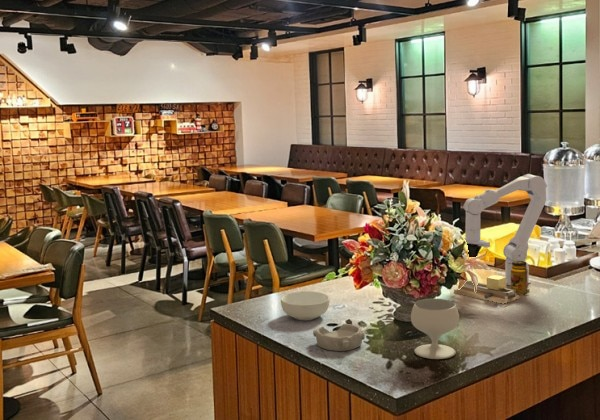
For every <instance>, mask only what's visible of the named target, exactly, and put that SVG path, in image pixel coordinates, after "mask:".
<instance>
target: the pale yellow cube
mask: <svg viewBox="0 0 600 420" xmlns="http://www.w3.org/2000/svg"><path fill="white" fill-rule="evenodd" d="M486 284H487V288H490V289H494V290H498V291H503V289H504V288H507V285H506V277H505V276H502V275H496V274H493V275H490V276H487V277H486Z"/></svg>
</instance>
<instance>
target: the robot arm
mask: <svg viewBox="0 0 600 420" xmlns="http://www.w3.org/2000/svg"><path fill="white" fill-rule="evenodd" d="M547 186H548V184H547V183H546V182H545V179H544V178H543V177H542V176H540V175H539V176H538V175H534V174H531V173H527V174H524V175H522V176H519V177H517V178H515V179H514V180H512V181H510V182H508V183H507V184H504V185H503V186H501V187H499V188H497V189H496V190H495V189H492V188H491V189H489V188H487V189H485V191H484V192H483V193H480V194H479V195H477V194H476V195H474V196H473V197H474V198H472V197H469V198H467V199H466V200H465V202H464V204H463V206H462V208H463V209H464V211H465V227H464V228H465V237H463V238H464V239H465V240H466V242H467V245H468V250H469V252H468V254H469V257H476V256H477V257H478V256H479V255H478V254H479V253H480V251H481V249H482V248H490V247H491V242H490V241H486V240H483V239H481V213H482V212H483V210H485V209H486V208H490V207H491V206H493V205H495V204H497V203H499V201H500V198H502V197H505V196H506V195H507V196H508V195H509V194H512V193H514V192H516V191H525V192H526V193H527V195H528V197H529V199H530V201H529V203H528V206H527V208H526V210H525V213H524V215H523V217H522V218H521V219H522V220H521V221H520V224H519V226H518V228H517V230H516V232H515V234H514V236H513V237H512V238H511V239H510V240H509V242H508V243H507V244H506V245H505V246H504V247H503V255H504V257H505V261H504V262H505V263H504V264H505V268H504V269H505V273H504V274H505V275H504V277H506V286H511V269H512V262H513V261H524V262H526V263H527V264H526V266H527V267H526V268H527V285H528V284H531V283H532V282H531V281H530V274H529V273H530V266H529V264H528V262H527V261H526V260H527V258H528V249H529V240H530V238H531V235H532V232H533V230H534V229H535V226H536V224H537V222H538V219H539V217H540V215H541V214H542V210H543V208H544V206H545V205H546V202H547ZM468 254H467V255H468Z"/></svg>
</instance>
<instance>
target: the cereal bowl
mask: <svg viewBox="0 0 600 420" xmlns="http://www.w3.org/2000/svg"><path fill="white" fill-rule="evenodd" d="M280 305H281V308H282V309H281V310H282V311H283V312H284V313H285V314H286V315H288V316H290V317H291V318H293V319H295V320H298V321H311V320H314V319H315V320H316V318H318V317H320V316H322V315H325V313H326V312H327V311H328V309H329V307H330V297H329V295H327V294H326V293H323V292H319V291H311V290H309V291H307V290H306V291H305V290H304V291H294V292H290V293H287V294H284V295H283V296H281V297H280Z"/></svg>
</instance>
